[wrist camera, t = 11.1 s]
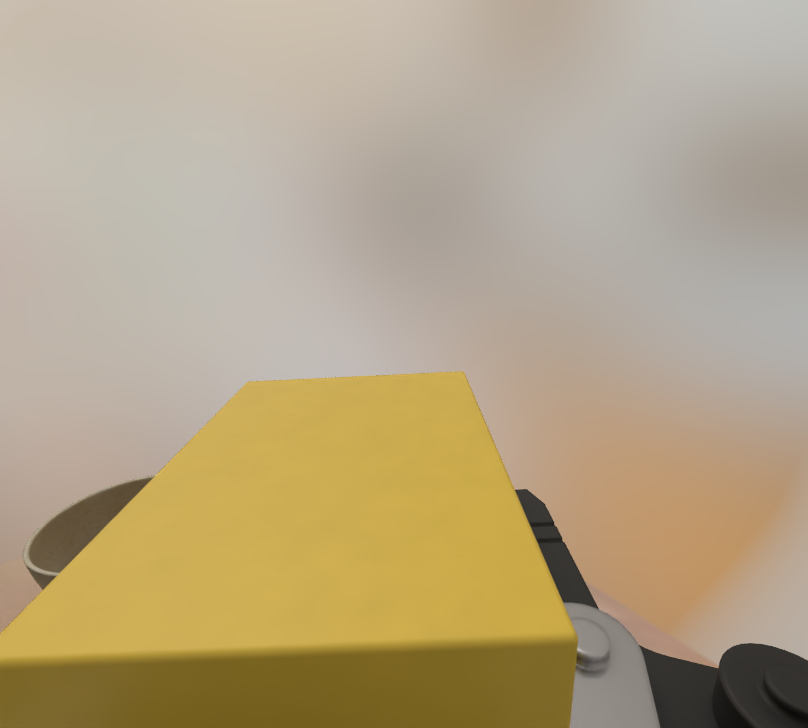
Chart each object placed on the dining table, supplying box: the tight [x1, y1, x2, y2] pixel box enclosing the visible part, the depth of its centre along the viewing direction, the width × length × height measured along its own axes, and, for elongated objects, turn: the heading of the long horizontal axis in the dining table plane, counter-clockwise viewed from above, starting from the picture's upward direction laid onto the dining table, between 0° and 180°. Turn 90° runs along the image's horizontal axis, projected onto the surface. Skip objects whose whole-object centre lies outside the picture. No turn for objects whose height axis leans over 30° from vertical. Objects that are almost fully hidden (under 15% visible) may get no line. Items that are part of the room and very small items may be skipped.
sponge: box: [0, 371, 578, 728], centre depth 7 cm, size 4×6×9 cm
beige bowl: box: [23, 475, 156, 589], centre depth 29 cm, size 10×10×7 cm
